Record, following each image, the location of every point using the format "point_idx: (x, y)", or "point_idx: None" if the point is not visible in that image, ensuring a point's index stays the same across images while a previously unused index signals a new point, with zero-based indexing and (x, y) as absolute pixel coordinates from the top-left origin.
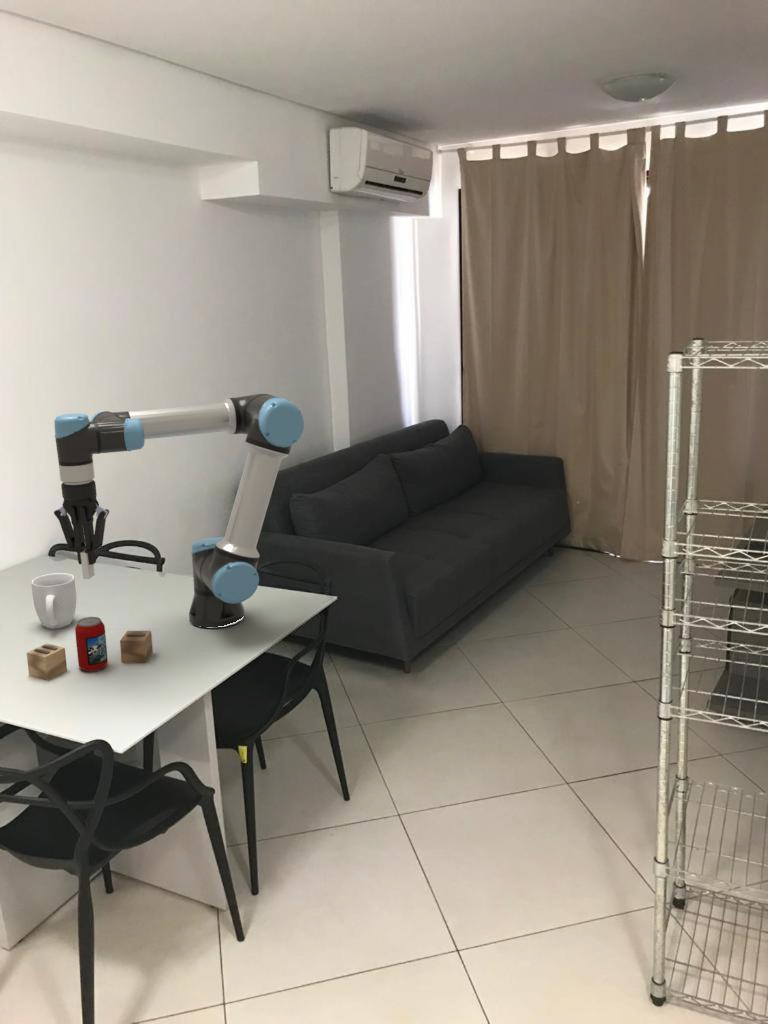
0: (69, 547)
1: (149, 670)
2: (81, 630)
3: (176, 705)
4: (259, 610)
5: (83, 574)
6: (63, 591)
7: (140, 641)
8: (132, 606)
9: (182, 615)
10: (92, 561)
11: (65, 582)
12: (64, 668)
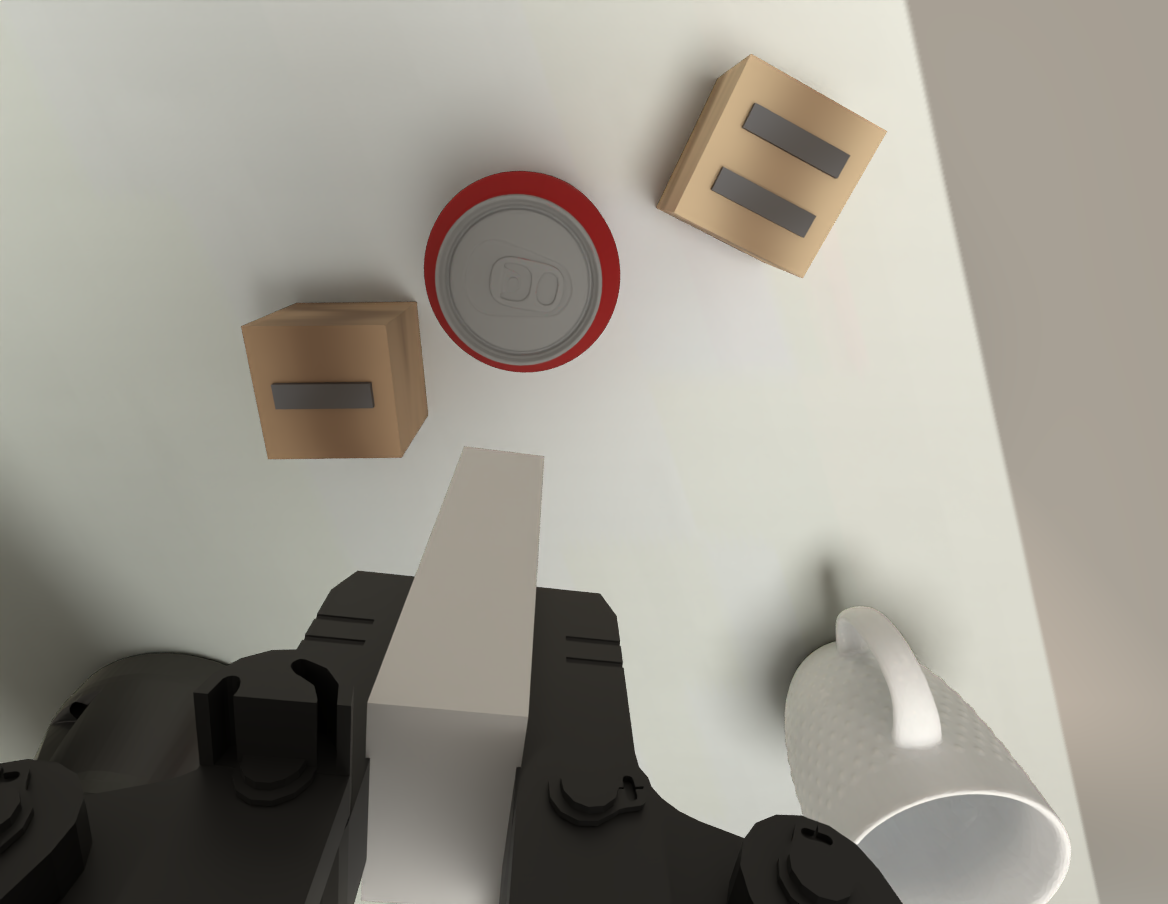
0: (847, 866)
1: (239, 212)
2: (547, 184)
3: None
4: None
5: (531, 476)
6: (859, 780)
7: (267, 325)
8: None
9: None
10: (335, 603)
11: None
12: (665, 192)
